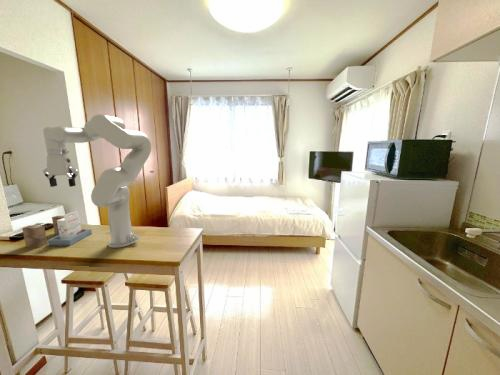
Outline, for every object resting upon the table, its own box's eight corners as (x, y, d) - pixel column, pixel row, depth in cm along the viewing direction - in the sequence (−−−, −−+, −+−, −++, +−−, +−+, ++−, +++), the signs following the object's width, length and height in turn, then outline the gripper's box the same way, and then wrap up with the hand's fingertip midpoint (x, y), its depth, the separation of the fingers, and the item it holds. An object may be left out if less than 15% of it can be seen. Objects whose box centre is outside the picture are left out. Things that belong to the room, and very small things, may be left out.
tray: (91, 233, 122) (91, 228, 121) (70, 245, 107) (69, 240, 107) (72, 233, 122) (72, 228, 121) (48, 245, 107) (47, 240, 107)
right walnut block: (72, 231, 125) (70, 215, 123) (68, 233, 122) (65, 217, 120) (59, 231, 125) (56, 215, 123) (54, 233, 122) (51, 217, 120)
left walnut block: (47, 243, 109) (44, 225, 107) (41, 246, 106) (38, 227, 104) (32, 243, 109) (28, 225, 107) (26, 246, 106) (22, 227, 104)
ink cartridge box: (74, 234, 119) (70, 209, 116) (82, 235, 118) (78, 210, 116) (59, 241, 110) (55, 214, 108) (68, 241, 110) (64, 215, 107)
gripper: (80, 152, 109) (85, 184, 113) (47, 152, 109) (53, 185, 113) (68, 153, 102) (74, 187, 105) (32, 153, 102) (39, 187, 105)
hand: (63, 186), depth 109 cm, fingers open, 9 cm apart
